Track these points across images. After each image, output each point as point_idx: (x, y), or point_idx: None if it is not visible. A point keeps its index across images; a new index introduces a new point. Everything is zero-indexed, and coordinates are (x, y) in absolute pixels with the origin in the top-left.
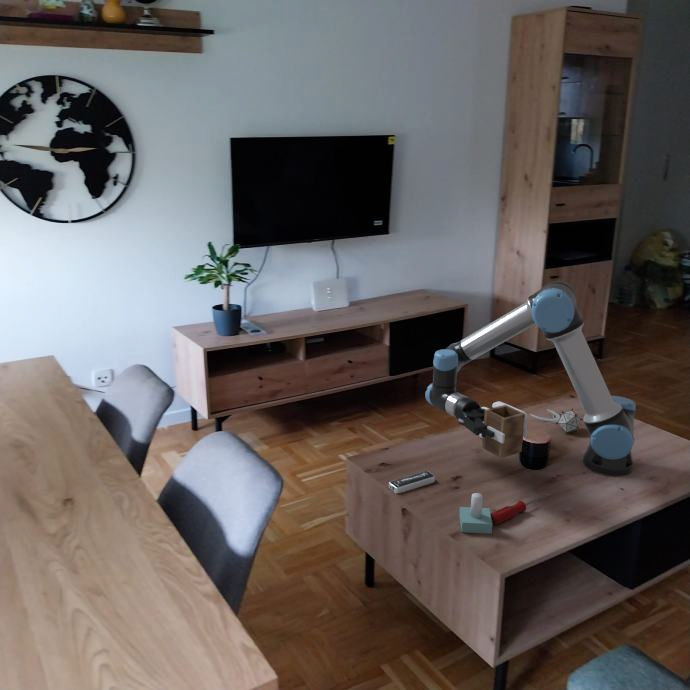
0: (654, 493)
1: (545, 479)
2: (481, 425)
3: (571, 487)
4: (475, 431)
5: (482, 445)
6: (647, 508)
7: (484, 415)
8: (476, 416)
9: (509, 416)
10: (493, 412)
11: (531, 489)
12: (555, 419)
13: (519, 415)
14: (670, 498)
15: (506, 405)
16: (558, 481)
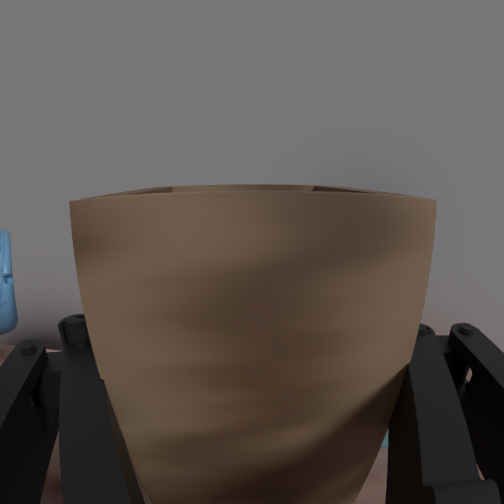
0: (6, 357)
1: (59, 498)
2: (437, 342)
3: (56, 442)
4: (468, 368)
5: (357, 492)
6: (56, 351)
7: (428, 271)
8: (480, 479)
9: (269, 185)
10: (357, 190)
11: (143, 498)
12: None
13: (200, 185)
14: (12, 345)
15: (85, 199)
16: (47, 471)
